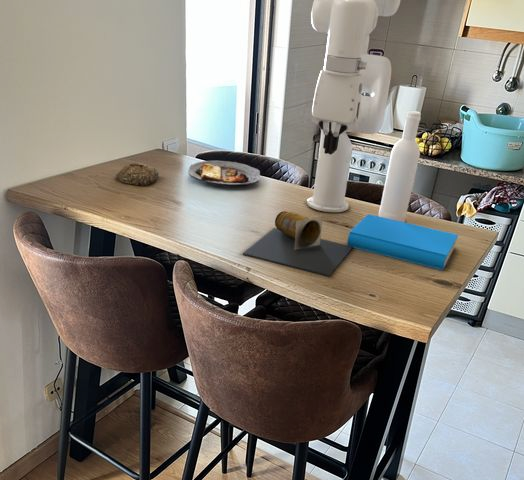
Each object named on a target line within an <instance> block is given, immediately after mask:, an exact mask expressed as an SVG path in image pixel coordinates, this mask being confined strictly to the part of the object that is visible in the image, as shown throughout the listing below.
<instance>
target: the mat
mask: <svg viewBox="0 0 524 480" xmlns="http://www.w3.org/2000/svg"><path fill="white" fill-rule="evenodd" d="M294 247H295V239H294V238H292V237H290V236H287V235H285V234H283V233H282V232H281V231H279V230H278V229H277V228H276V227H275V228H273V229H272V230H270V231H269V232H267V233H266V234H265V235H264V236H262V237H261V238H260V239H259V240H258V241H256V242H255V243H254V244H252V246H250V247H249V248H247V249H246V250H245V251H244V252H242V255H243V256H247V257H250V258H255V259H258V260H263V261H266V262H270V263H274V264H278V265H281V266H286V267H290V268H294V269H297V270H301V271H306V272H309V273H313V274H317V275H322V276H325V277H328V278H330V276H331V275H332V274H333V273H334V272H335V271H336V270H337V268H338V267H339V266H340V264H342V262H343V261H344V260H345V258H346V257H348V255H349V254H350V252H351V251H352V250H353V249H354V248H353V247H352V246H348V245H347V244H345V243H344V244H343V243H339V242H335V241H330V240H326V239H322V238H320V245H316V246H311V247H306V248H302V249H296V250H294Z"/></svg>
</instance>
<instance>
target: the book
mask: <svg viewBox="0 0 524 480" xmlns="http://www.w3.org/2000/svg"><path fill="white" fill-rule="evenodd" d="M458 238H459V234H457V233H453V232H448V231H444V230H440V229H435V228H430V227H425V226H421V225H417V224H412V223H409V222H406V221H405V222H400V221H396V220H392V219H387V218H383V217H379V215H374V214H369V213H368V214H366V215H365V217H363V218H362V219H361V220H360V221H359V222H358V223H357V224H356V225H355V226H354V227H352V229H350V231H349V232H348V236H347V242H346V243H347V244H346V245H348V246H352V247H353V249H354V248H355V249H358V250H362V251H366V252H369V253H374V254H378V255H381V256H386V257H390V258H393V259H397V260H401V261H405V262H409V263H413V264H417V265H422V266H424V267H429V268H433V269H437V270H440V271H444V270H445V267H446V265H447V263H448V262H449V259H450V258H451V256H452V255H453V252H454V251H455V248H456V244H457V240H458Z"/></svg>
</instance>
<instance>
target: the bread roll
mask: <svg viewBox="0 0 524 480" xmlns="http://www.w3.org/2000/svg"><path fill="white" fill-rule="evenodd" d="M115 178H116V180H118V181H119V182H121V183H124V184H127V185H134V186H137V187H138V186H139V187H144V186H147V185H150V184H152V183H154V182H155V181H157V179H158V178H159V172H158V171H157V169H156V168H155V167H153V166H149V165H148V164H145V163H137V162H136V163H135V162H133V163H129V164H126V165H124V166H123V168H121V169H120V170H119V171H118V172H117V173H116V174H115Z"/></svg>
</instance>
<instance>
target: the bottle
mask: <svg viewBox="0 0 524 480" xmlns="http://www.w3.org/2000/svg"><path fill="white" fill-rule="evenodd" d="M421 116H422V113H421V112H420V111H417V110H408V111H407V113H406V115H405V120H404V121H405V122H404V127H403V132H402V136H401V138H400V139H399V140H397V141H396V142H395V144H394V145H393V147H392V149H391V152H390V158H389V161H388V166H387V170H386V171H387V172H386V177H385V181H384V182H385V183H384V186H383V191H382V196H381V201H380V206H379V210H378V216H379V217H383V218H387V219H392V220H396V221H400V222H405V223H406V220H407V219H406V218H407V215H408V209H409V204H410V200H411V195H412V191H413V186H414V183H415V179H416V178H415V177H416V173H417V169H418V165H419V160H420V156H421V150H420V149H421V148H420V145H419V144H418V142H417V140H416V138H417V134H418V130H419V126H420V125H419V124H420V122H421V119H422V118H421Z"/></svg>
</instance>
